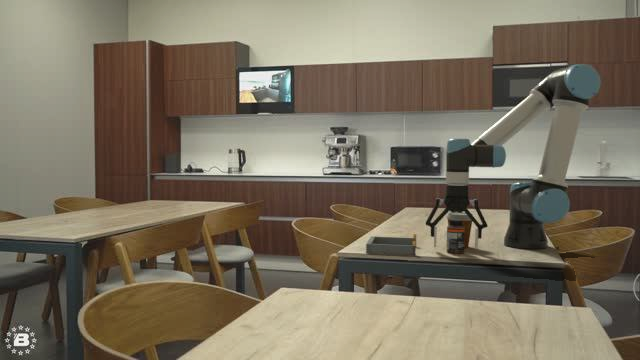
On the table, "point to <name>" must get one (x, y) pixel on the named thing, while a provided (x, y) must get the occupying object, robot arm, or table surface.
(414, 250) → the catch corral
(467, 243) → the disposable coffee cup
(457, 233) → the supplement bottle
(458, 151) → the robot arm
